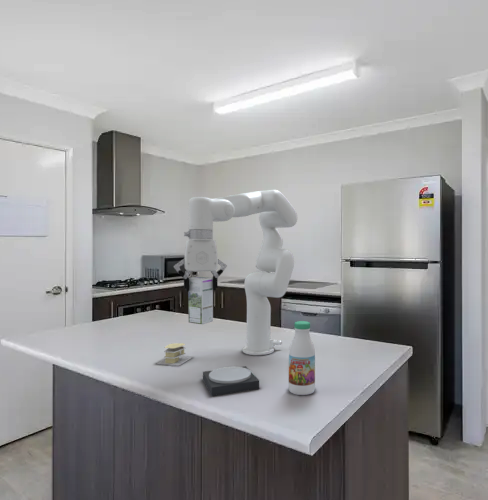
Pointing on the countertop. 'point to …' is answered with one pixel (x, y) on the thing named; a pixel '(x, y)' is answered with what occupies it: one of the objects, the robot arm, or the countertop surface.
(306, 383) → the milk bottle
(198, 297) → the syrup box
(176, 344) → the stacked layers on plate
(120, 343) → the countertop surface
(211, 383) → the scale
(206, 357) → the countertop surface
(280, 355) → the countertop surface
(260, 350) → the robot arm
